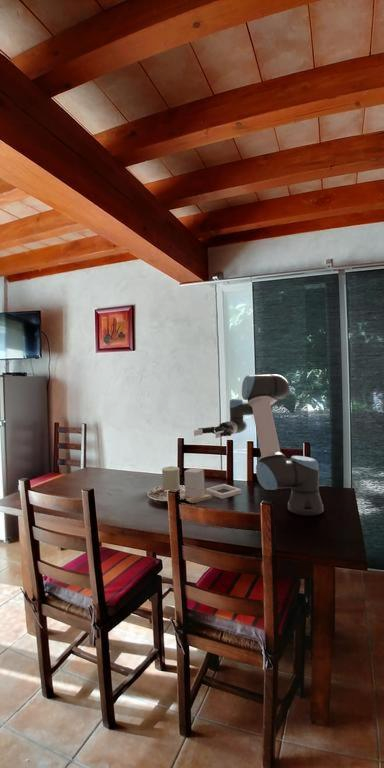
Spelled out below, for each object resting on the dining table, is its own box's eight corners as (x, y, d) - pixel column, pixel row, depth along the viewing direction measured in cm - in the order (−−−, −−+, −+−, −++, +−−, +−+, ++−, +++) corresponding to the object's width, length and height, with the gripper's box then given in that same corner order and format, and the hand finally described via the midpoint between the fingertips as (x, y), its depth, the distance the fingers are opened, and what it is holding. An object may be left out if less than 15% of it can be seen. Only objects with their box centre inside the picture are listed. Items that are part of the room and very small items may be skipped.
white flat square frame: (241, 493, 200) (241, 489, 200) (222, 498, 193) (222, 494, 193) (224, 487, 211) (224, 483, 211) (205, 492, 203) (205, 488, 203)
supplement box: (205, 494, 197) (204, 469, 197) (197, 498, 191) (196, 472, 190) (192, 492, 201) (192, 467, 201) (184, 496, 195) (183, 470, 194)
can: (181, 487, 213) (180, 465, 213) (178, 492, 204) (178, 469, 203) (164, 487, 214) (163, 465, 214) (161, 492, 205) (160, 469, 204)
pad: (212, 497, 195) (212, 495, 195) (192, 503, 187) (192, 501, 187) (197, 492, 204) (197, 490, 204) (178, 497, 197) (178, 495, 197)
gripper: (247, 437, 212) (225, 443, 195) (209, 433, 227) (186, 439, 210) (247, 423, 211) (225, 428, 195) (209, 420, 227) (185, 425, 210)
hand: (205, 434), depth 202 cm, fingers open, 13 cm apart
